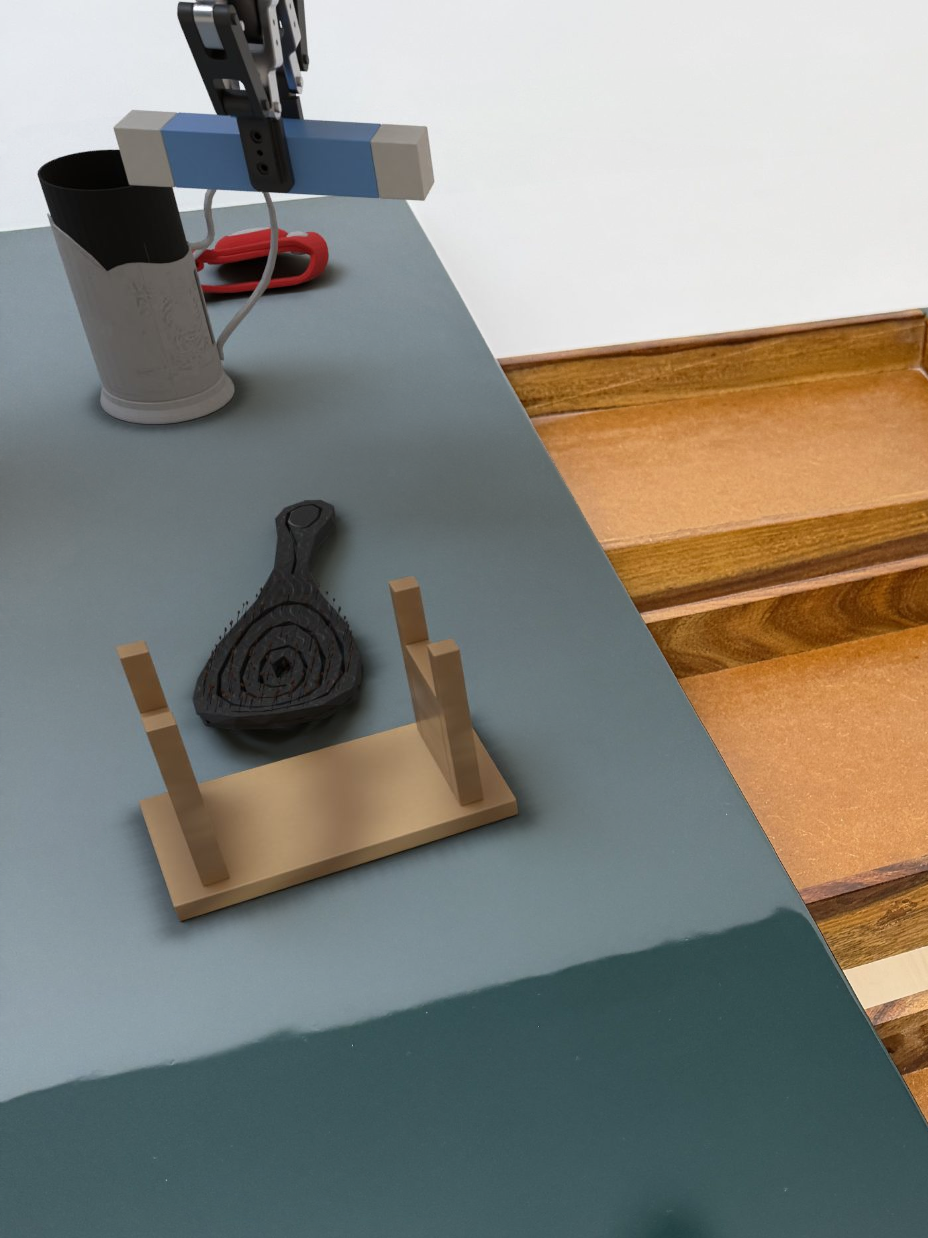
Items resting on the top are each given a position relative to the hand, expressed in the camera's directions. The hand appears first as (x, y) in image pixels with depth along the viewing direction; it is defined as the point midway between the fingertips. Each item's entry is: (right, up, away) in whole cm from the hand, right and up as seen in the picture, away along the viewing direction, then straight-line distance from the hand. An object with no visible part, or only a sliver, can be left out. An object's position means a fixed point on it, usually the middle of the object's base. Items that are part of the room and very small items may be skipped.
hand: (282, 177), depth 78 cm
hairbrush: (0, -25, +2) cm, 25 cm away
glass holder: (-14, -5, +22) cm, 26 cm away
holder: (+6, -36, -9) cm, 38 cm away
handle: (0, 0, 0) cm, 0 cm away
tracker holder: (-17, +8, +35) cm, 40 cm away
